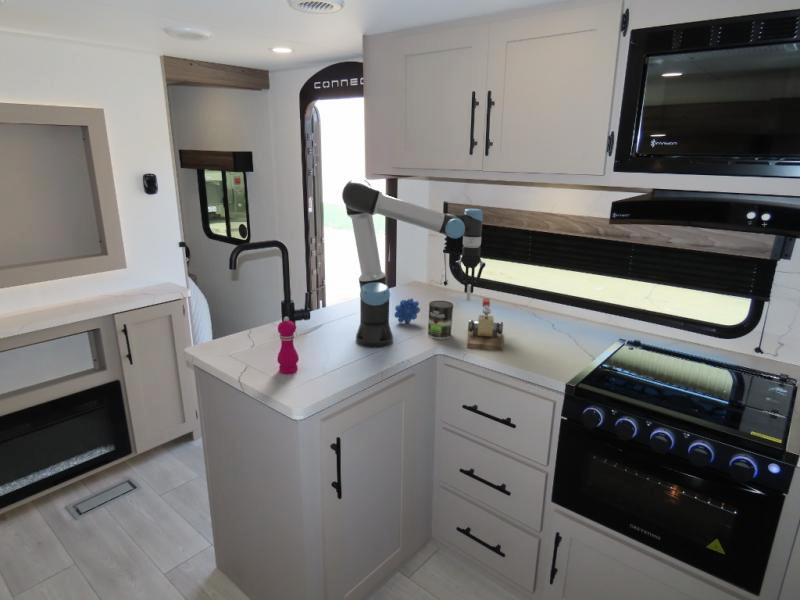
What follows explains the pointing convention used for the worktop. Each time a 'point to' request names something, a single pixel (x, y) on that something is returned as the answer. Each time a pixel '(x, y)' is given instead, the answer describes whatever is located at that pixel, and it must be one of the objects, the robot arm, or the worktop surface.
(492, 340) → the base board
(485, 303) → the valve lever
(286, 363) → the pepper mill
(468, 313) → the worktop surface
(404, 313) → the grapes
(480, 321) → the valve body
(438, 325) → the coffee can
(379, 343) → the robot arm
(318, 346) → the worktop surface
